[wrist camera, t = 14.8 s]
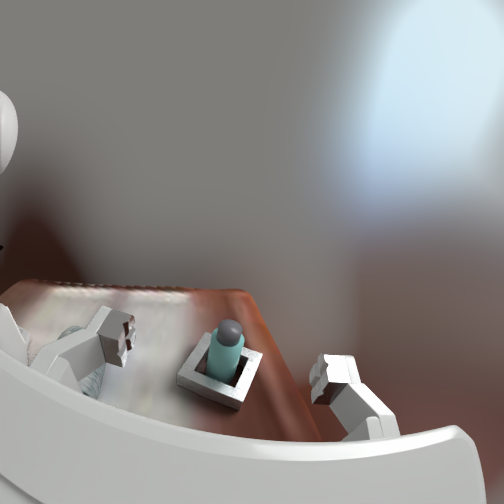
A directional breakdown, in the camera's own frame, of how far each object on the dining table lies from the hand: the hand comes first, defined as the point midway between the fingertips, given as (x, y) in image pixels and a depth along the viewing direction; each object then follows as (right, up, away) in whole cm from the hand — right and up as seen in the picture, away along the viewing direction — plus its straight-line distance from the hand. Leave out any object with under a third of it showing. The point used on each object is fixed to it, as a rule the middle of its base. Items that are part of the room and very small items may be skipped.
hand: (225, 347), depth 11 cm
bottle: (-4, -15, +29) cm, 33 cm away
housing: (-4, -15, +29) cm, 33 cm away
